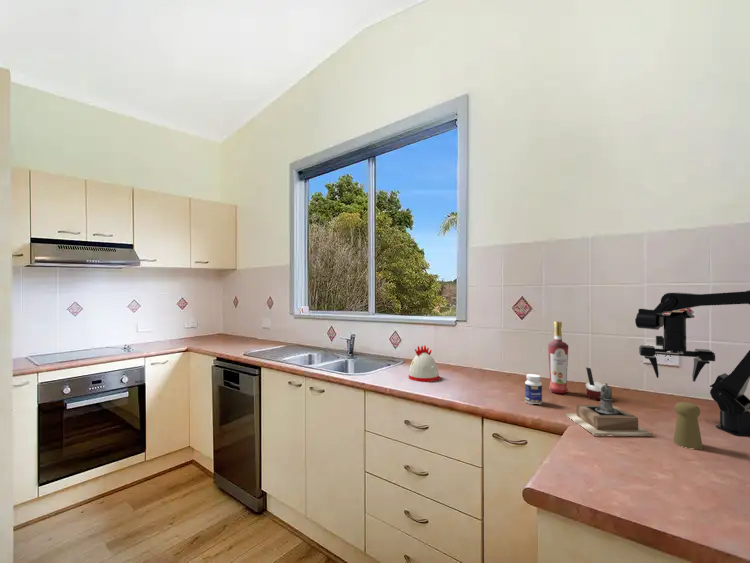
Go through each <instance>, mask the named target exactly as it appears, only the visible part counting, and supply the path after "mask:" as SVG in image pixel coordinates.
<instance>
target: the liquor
mask: <svg viewBox="0 0 750 563" xmlns="http://www.w3.org/2000/svg"><path fill="white" fill-rule="evenodd" d="M553 327H554V336H553V340H552V341H551V342H549V343H547V349H548V350H547V352H548V355H547V356H548V367H549V387H548V389H549V390H550V391H551V392H552V393H554V394H557V395H564V394H566V393H567V392H568V391H569V389H568V363H569V344H567V343H566V342H564V341H563V335H562V327H563V326H562V321H553Z"/></svg>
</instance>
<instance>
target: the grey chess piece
mask: <svg viewBox="0 0 750 563" xmlns="http://www.w3.org/2000/svg"><path fill="white" fill-rule="evenodd" d="M612 391H613V389H612V387H610V386H609V384H608V383H607V382H606V383H605V385H604V386H602V387H601V396H600V397H599V398H600V399H601V400H600V404H599V405H600V407H599V408H596V409H595V410H596V412H597V413H598V414H600V415H617V414H618V412H617V411H616V410H614V409H613V407H612V405H613V400H614V398H613V392H612Z"/></svg>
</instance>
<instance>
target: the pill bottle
mask: <svg viewBox="0 0 750 563" xmlns="http://www.w3.org/2000/svg"><path fill="white" fill-rule="evenodd" d="M524 402H525V403H526V402H527V403H526V404H529V405H533V404H539V405H542V404H543V383H542V382H541V375H539V374H535V373H527V374H526V381H525V382H524Z"/></svg>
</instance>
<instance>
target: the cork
mask: <svg viewBox="0 0 750 563" xmlns="http://www.w3.org/2000/svg"><path fill="white" fill-rule="evenodd" d="M674 410H675V412H676V414H677V417H676V422H675V428H674V434H673V440H672V441H673V443H674V444H675V443H676V444H678V445H677V446H679V445H680V446H679V447H681V446H683V447H682V448H685V447H687V448H686V449H689V448H694V449H693V450H701V449H700V448H702V447H703V441H702V435H701V431H700V429H701V428H700V425H699V419H698V418H699V417H700V414H701V409H700V407H699V406H698V405H697V404H694V403H691V402H685V401H684V402H683V401H679V402H677V403H675V405H674ZM676 444H675V445H676ZM703 448H704V447H703ZM703 448H702V449H703Z"/></svg>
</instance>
